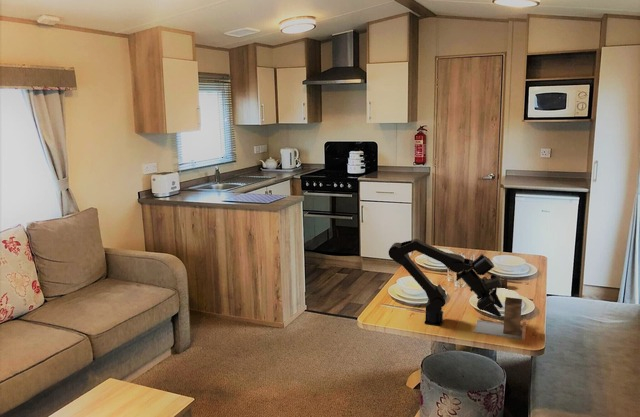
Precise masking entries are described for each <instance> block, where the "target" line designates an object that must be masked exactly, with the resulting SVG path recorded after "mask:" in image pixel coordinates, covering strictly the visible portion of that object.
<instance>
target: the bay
mask: <svg viewBox="0 0 640 417" xmlns="http://www.w3.org/2000/svg"><path fill="white" fill-rule="evenodd" d="M503 329H504V323H500V322H495V321H494V322H493V321H486V320H481V319H480V320H479V319H477V320H476V324H475V328H474V331H473V333H475V334H483V335H489V336H494V337H495V336H496V337H503V338H509V339H515V340H521V341H526V331H527V330H526V329H527V318H523V319H522V326H521V325H520V336H517V335H510V334H503Z"/></svg>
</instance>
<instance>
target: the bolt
mask: <svg viewBox="0 0 640 417" xmlns="http://www.w3.org/2000/svg"><path fill="white" fill-rule="evenodd" d="M482 278H484V279H485V280H488V279H489V278H488V277H487V276H483V277H482ZM500 280H501V283H502V285H501V287H503V289H504V288H507V289H508V276H507V277H506V276H504V277H503V279H502V278H500Z"/></svg>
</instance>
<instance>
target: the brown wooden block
mask: <svg viewBox="0 0 640 417" xmlns="http://www.w3.org/2000/svg"><path fill="white" fill-rule="evenodd" d="M522 304H523V299H522V298H515V297H507V296H505V301H504V314H503V316H504V317H503V324H504V329H503V334H510V335H517V336H520V326H521V320H522V319H521V318H522Z"/></svg>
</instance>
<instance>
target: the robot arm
mask: <svg viewBox="0 0 640 417" xmlns="http://www.w3.org/2000/svg"><path fill="white" fill-rule="evenodd" d="M415 251H416V252H418V253H420V254H422V255H424V256H427V257H428V258H431V259H433V260H436V261H438V262H440V263H441V264H443V265H444V266H445V267H446V268H447V269H449V270H451V271H452V272H453V273H456V278H455V279H456V281H457V282H458V281H459V280H461V279H462V280H463V282H464V283H465V284H466V285H467V286H468V287H469V291H470V292H471V293H472V292H473V293H474V294H475V295H476V299H477V303H476V307H477V309H479V311H484V312H487V313H489V314H492V315H494V316H496V317H498V318H500V317H501V316H502V314H501V313H500V311H499V309H498V308H500V309H502V308H504V305H503V304H502V302H501V300H500V298H499V296H498V293H497V291H498V289H500V288H502V286H501V285H502V283H501V280H500V279H501V277H500V276H499V275H496V274H495V273H493V274H491V275H490V278H487V279H488V280H485V279H484V278H483V277H480V276H484V275H485V274H486V275H487V273H489V272H490V271H491V270H493V268H495V265H494V263H493V262H492V260H491V259H490V258H489V257H487V256H486V255H484V254H483V253H481V254H479V256H478V257H477V258H475V259H474V260H473V259H469V258H465V257H463V255H461V254H457V253H453V252H451V253H450V252H447V251H443V250H442V249H439V248H436V247H434V246H432V245H430V244H429V243H426V242H424V241H421V240H420V239H418V238H414V239H413V238H412V239H411V240H407V241H406V240H405V241H403V242H394V243H392V245H391V246H390V248H389V249H388V256H389V257H390V259H392V260H393V261H394V262H395V263H397V264H398V265H400V266H402V267H403V268H404V269H405V270H406V271H407V273H408V274H409V275H410V276H411V277H412V278H413V279H414V280H415V282H416V283H417V284H418V285H419V286H420V287H421V288H422V290H424V292H425V294H426V297H427V302H426V306H425V320H424V324H426V325H431V326H441V324H442V323H443V321H444V311H443V307H445V305H446V301H447V293H446V290H445V289H444V288H443V287H442V285H441V284H440V283H439V284H437V285H436V284H434V283H433V282H432V281H431V280H430V279H429V278H428V277H427V276H426V274H424V272H423V271H422V270H421V269H420V268H419V266H417V264H416V263H415V262H414V261H413V260H412V258H411V256H410V255H409V254H410V253H413V252H415ZM497 307H498V308H497Z"/></svg>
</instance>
